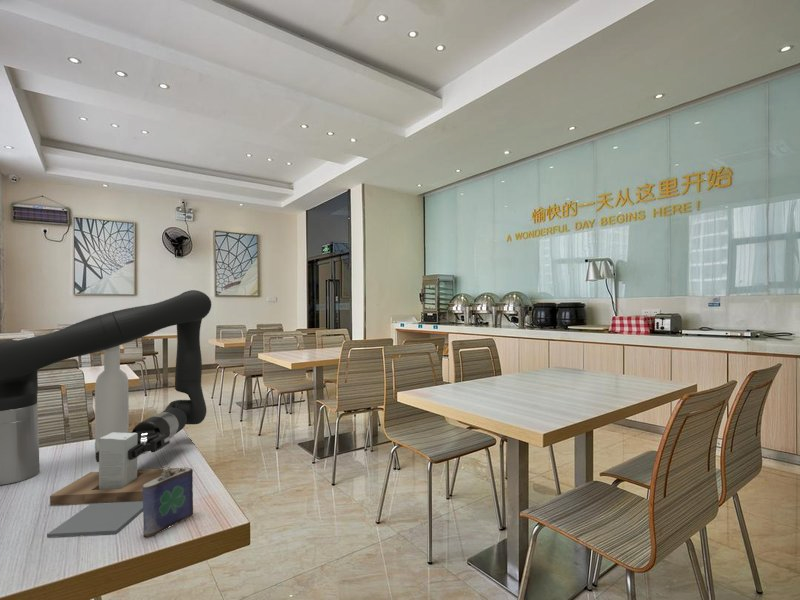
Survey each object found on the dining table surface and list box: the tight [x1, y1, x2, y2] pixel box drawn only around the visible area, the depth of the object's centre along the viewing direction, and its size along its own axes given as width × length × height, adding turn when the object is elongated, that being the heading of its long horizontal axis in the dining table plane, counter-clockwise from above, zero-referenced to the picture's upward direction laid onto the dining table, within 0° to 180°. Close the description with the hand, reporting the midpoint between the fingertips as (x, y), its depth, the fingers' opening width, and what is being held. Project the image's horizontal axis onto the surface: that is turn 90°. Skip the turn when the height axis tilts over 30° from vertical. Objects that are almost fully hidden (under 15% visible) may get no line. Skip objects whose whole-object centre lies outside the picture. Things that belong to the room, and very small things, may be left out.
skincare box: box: [98, 432, 138, 490], centre depth 92 cm, size 6×4×12 cm
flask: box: [142, 464, 194, 537], centre depth 77 cm, size 9×3×11 cm, turn 151°
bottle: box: [94, 345, 130, 454], centre depth 117 cm, size 8×8×30 cm
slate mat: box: [46, 501, 143, 538], centre depth 80 cm, size 12×11×1 cm
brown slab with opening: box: [49, 467, 179, 506], centre depth 93 cm, size 20×12×2 cm, turn 92°
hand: (114, 456), depth 91 cm, fingers closed on skincare box, 6 cm apart
